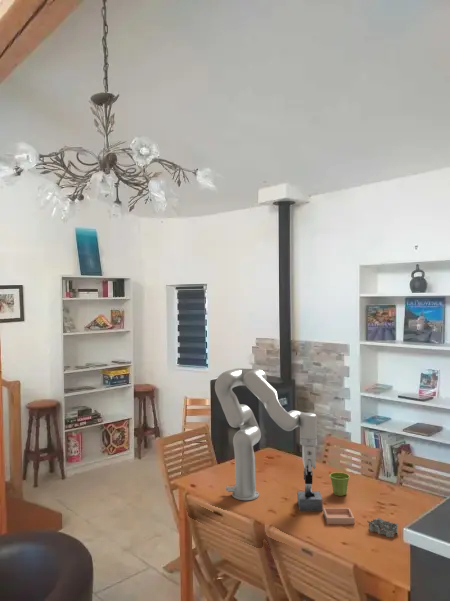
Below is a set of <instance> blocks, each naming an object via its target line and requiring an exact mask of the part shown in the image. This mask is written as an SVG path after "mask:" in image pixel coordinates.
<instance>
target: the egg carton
mask: <svg viewBox="0 0 450 601" xmlns="http://www.w3.org/2000/svg"><path fill="white" fill-rule="evenodd" d="M366 523H368V530H369V531H370V532H371V533H374V532H375V533H377V534H378V535H385V537H387V538H394V536H395V534H394V533H397V534H398V526H399V523H395V522H394V523H393V522H391V521H388V520H384V519H382V518H380V517H377V518H373V519H372V520H371V521H370V520H367V522H366Z"/></svg>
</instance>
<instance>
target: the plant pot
mask: <svg viewBox="0 0 450 601" xmlns="http://www.w3.org/2000/svg"><path fill="white" fill-rule="evenodd" d="M350 477H351V476H350V475H349V474H348V473H346V472H341V471H337V472H335V471H334V472H331V473H330V474H329V478H330V480H331V486H332V487H331V488H332V493H333V495H336V496H338V497H343V496H346V495H347V492H348V484H349V480H350Z"/></svg>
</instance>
